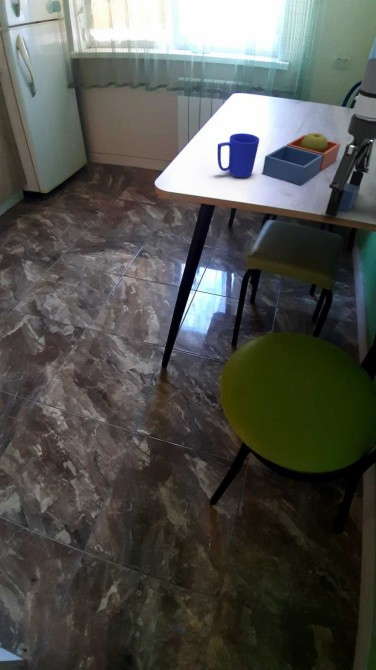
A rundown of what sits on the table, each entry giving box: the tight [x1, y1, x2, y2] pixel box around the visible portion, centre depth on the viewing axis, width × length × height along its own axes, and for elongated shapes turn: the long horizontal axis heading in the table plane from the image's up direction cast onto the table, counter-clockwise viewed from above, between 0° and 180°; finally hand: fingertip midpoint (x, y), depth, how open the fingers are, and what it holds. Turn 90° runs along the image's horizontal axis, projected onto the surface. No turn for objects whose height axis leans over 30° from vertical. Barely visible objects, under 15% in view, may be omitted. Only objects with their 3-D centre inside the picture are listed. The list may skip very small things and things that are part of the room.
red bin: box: [286, 134, 341, 173], centre depth 128 cm, size 12×12×5 cm
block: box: [338, 182, 361, 213], centre depth 106 cm, size 5×5×5 cm
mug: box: [217, 132, 260, 178], centre depth 116 cm, size 8×12×10 cm
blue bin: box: [261, 144, 323, 186], centre depth 120 cm, size 12×12×5 cm
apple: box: [301, 132, 329, 153], centre depth 127 cm, size 8×8×7 cm
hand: (341, 204), depth 107 cm, fingers open, 13 cm apart
